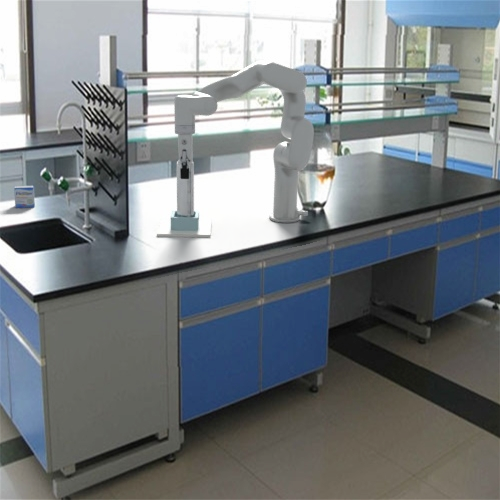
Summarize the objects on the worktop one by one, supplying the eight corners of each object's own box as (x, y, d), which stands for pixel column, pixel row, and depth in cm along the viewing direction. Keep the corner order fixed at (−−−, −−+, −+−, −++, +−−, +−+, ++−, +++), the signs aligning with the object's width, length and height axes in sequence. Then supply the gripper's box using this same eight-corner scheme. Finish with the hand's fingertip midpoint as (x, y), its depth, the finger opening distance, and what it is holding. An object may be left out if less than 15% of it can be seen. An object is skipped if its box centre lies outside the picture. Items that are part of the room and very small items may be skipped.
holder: (211, 222, 290) (211, 208, 288) (210, 237, 271) (210, 221, 269) (161, 221, 289) (161, 207, 287) (156, 236, 270) (156, 221, 268)
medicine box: (15, 208, 302) (13, 188, 300) (15, 205, 307) (14, 185, 304) (34, 207, 304) (33, 187, 302) (35, 204, 309) (33, 184, 306)
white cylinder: (194, 221, 282) (194, 158, 274) (193, 225, 276) (193, 161, 268) (177, 221, 282) (177, 157, 274) (176, 225, 276) (175, 161, 268)
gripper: (194, 133, 260) (194, 182, 265) (195, 125, 276) (196, 172, 282) (173, 132, 259) (173, 181, 265) (176, 125, 276) (176, 171, 281)
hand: (185, 176), depth 273 cm, fingers closed on white cylinder, 6 cm apart
